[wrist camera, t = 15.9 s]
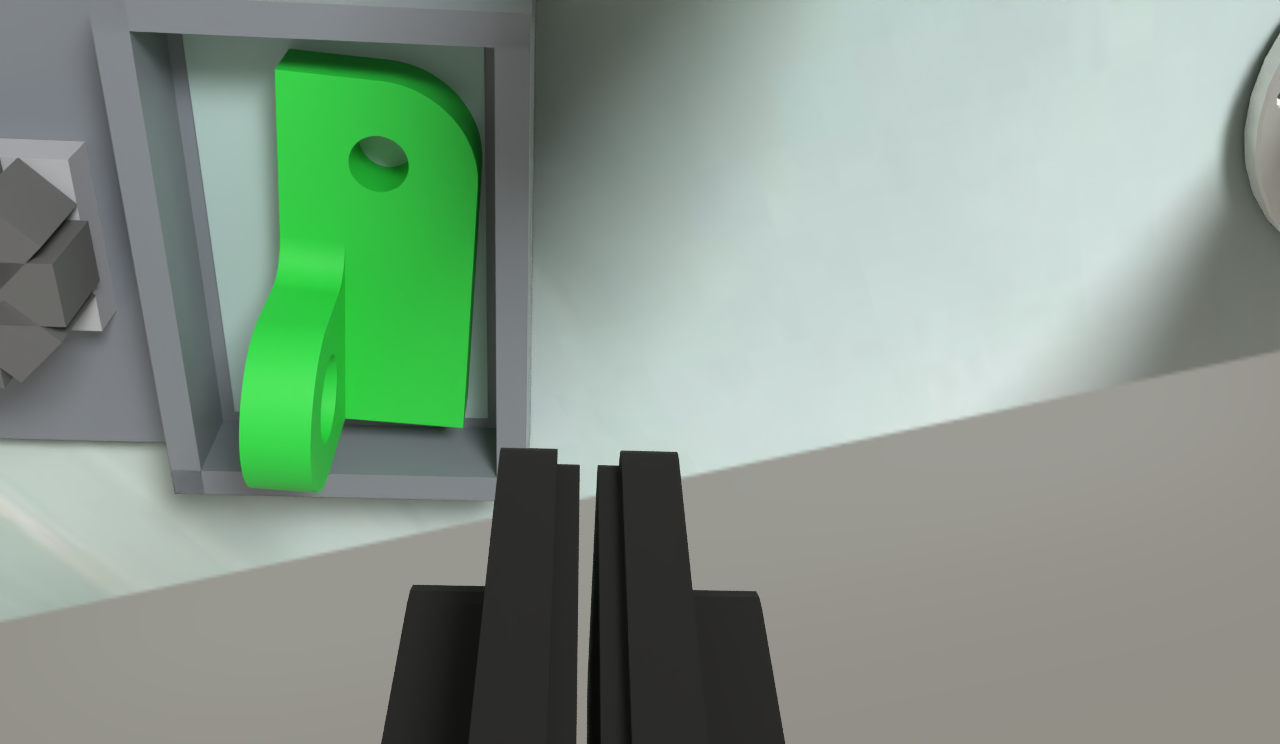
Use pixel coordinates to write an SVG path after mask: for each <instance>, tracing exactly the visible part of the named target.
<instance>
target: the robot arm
mask: <svg viewBox="0 0 1280 744" xmlns="http://www.w3.org/2000/svg"><path fill="white" fill-rule="evenodd" d="M1244 136H1245V165H1246V169H1247V173H1248V177H1249V181H1250V185H1251V189H1252V193H1253V195H1254V196H1255V198H1256V200H1257V202H1258V204H1259V206H1260V208H1261V209H1262V211H1263V213H1264V215H1265V217H1266V218H1267V219H1268V220H1269V222H1270V223H1271V224H1272V225H1273V226H1274V227H1275V228H1276V229H1277V230H1278V231H1279V232H1280V34H1279V35H1278V37H1277V39H1276V40H1275V42H1274V44H1273V46H1272V47H1271V49H1270V51H1269V53H1268V54H1267V56H1266V58H1265V60H1264V62H1263V65H1262V68H1261V70H1260V73H1259V75H1258V78H1257V81H1256V83H1255V86H1254V89H1253V91H1252V94H1251V98H1250V103H1249V108H1248V114H1247V119H1246V125H1245V130H1244ZM557 452H558V450H557V449H538V448H501V449H500V455H499V463H498V473H497V482H496V491H495V500H494V510H493V519H492V529H491V538H490V547H489V556H488V565H487V575H486V584H485V586H445V585H443V586H442V585H413V586H412V588H411V590H410V594H409V598H408V602H407V608H406V612H405V618H404V623H403V629H402V634H401V640H400V645H399V650H398V656H397V661H396V667H395V672H394V677H393V683H392V689H391V694H390V700H389V705H388V711H387V715H386V721H385V726H384V732H383V738H382V743H381V744H576V724H577V722H576V720H577V719H576V718H577V641H578V639H577V638H578V560H579V482H580V465H568V464H557ZM594 532H595V533H594V553H593V574H592V575H593V576H592V595H591V596H592V597H591V617H590V638H589V660H588V689H587V691H588V692H587V744H785V740H784V734H783V728H782V723H781V717H780V711H779V705H778V700H777V693H776V688H775V682H774V676H773V670H772V664H771V659H770V653H769V647H768V641H767V635H766V629H765V624H764V618H763V613H762V607H761V603H760V599H759V596H758V594H757V593H756V591H708V590H692V581H691V572H690V563H689V552H688V543H687V534H686V523H685V514H684V504H683V495H682V485H681V475H680V466H679V458H678V453H677V452H654V451H621V452H620V459H619V466H608V465H598V470H597V488H596V510H595V531H594Z"/></svg>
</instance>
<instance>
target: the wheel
mask: <svg viewBox="0 0 1280 744" xmlns="http://www.w3.org/2000/svg"><path fill="white" fill-rule="evenodd" d="M76 206H77V204H76V203H75V202H74V201H73V200H71V199H70V198H69V197H68V196H66V195H65V194H64V193H62V192H61V191H60V190H59V189H57V188H56V187H55V186H54V185H52V184H51V183H50V182H49V181H47V180H46V179H45V178H44V177H42V176H41V175H40V174H39V173H37V172H36V171H35V170H33V169H32V168H31V167H30V166H28V165H27V164H26V163H25V162H23V161H22V160H21V159H20V158H17V159H16V160H15V161H14V162H12V163H11V164H10V165H9V166H8V167H7V168H6V169H5V170H4V171H3V169H2V165H1V161H0V388H6V386H7V385H8V384H9V382H10V381H11V380H12V378H13V377H14V378H16V379H17V380H18V381H20V382H21V383H22V382H23V381H24V380H25V379H26V378H27V377H28V376H29V375H30V374H31V373H32V372H33V371H34V370H35V369H36V368H37V367H38V366H39V365H40V364H41V363H42V362H43V361H44V360H45V359H46V358H47V357H48V356H49V355H50V354H51V353H52V352H53V351H54V350H55V349H56V348H57V347H58V346H59V345H60V344H61V343H62V342H63V340H64V339H65V337H66V336H67V335H68V333H69V332H70V330H71V329H72V328H73V326H74V325H75V323H76V322H77V321H78V319H79V318H80V317H81V315H82V314H83V312H84V311H85V310H86V308H87V307H88V305H89V304H90V303H91V301H92V300H93V298H94V297H95V296H96V295H95V294H93V293H92V291H93V290H94V288H95V287H96V285H97V284H98V283H99V281H100V278H99V273H98V268H97V263H96V258H95V253H94V248H93V243H92V238H91V233H90V228H89V222H88V221H83V220H65V218H66V217H67V216H68V215H69V214H70V213H71V211H72V210H73V209H74V208H75V207H76Z"/></svg>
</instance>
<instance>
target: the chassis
mask: <svg viewBox="0 0 1280 744" xmlns="http://www.w3.org/2000/svg"><path fill="white" fill-rule="evenodd" d="M288 49H297V50H306V51H315V52H324V53H333V54H342V55H351V56H360V57H369V58H378V59H387V60H394V61H400V62H404V63H408V64H411V65H414V66H416V67H419V68H421V69H423V70H425V71H427V72H429V73H431V74H433V75H434V76H436V77H438V78H439V79H440V80H442V81H443V82H444V83H446V84H447V85H448V86H449V87H450V88H451V89H452V90H454V91H455V93H456V94H457V95H458V96H459V97H460V98H461V99H462V101H463V102H464V103H465V105H466V106H467V108H468V109H469V111H470V113H471V114H472V116H473V118H474V121H475V123H476V125H477V128H478V131H479V134H480V139H481V144H482V176H481V193H480V209H479V225H478V241H477V257H476V274H475V290H474V306H473V322H472V338H471V355H470V371H469V387H468V399H467V406H466V413H465V419H464V426H463V428H456V427H444V426H432V425H420V424H407V423H395V422H383V421H370V420H358V419H346V418H345V421H344V424H343V428H342V431H341V435H340V438H339V441H338V445H337V448H336V451H335V455H334V458H333V461H332V465H331V468H330V471H329V475H328V478H327V481H326V483H325V486H324V488H323V489H322V491H321V492H320V493H314V492H301V491H287V490H274V489H261V488H250V487H248V486H247V484H246V483H245V481H244V478H243V474H242V469H241V463H240V453H239V418H240V403H241V392H242V384H243V377H244V370H245V364H246V359H247V354H248V350H249V345H250V341H251V338H252V334H253V331H254V328H255V325H256V323H257V321H258V318H259V316H260V314H261V312H262V310H263V307H264V305H265V303H266V301H267V299H268V297H269V294H270V292H271V290H272V288H273V286H274V283H275V279H276V275H277V270H278V263H279V253H280V223H279V191H278V159H277V127H276V96H275V68H276V67H277V65H278V64H279V62H280V61H281V60H282V58H283V57H284V55H285V54H286V52H287V51H288ZM534 79H535V0H0V161H1V165H2V169H3V171H4V170H5V169H6V168H7V167H8V166H9V165H10V164H11V163H12V162H14V161H15V160H16V159H17V158H20V159H21V160H22V161H23V162H25V163H26V164H27V165H28V166H30V167H31V168H32V169H33V170H35V171H36V172H37V173H39V174H40V175H41V176H42V177H44V178H45V179H46V180H47V181H49V182H50V183H51V184H52V185H54V186H55V187H56V188H57V189H59V190H60V191H61V192H62V193H64V194H65V195H66V196H68V197H69V198H70V199H71V200H73V201H74V202H75V203H76V204H77V206H76V207H75V208H74V209H73V210H72V211H71V213H70V214H69V215H68V216H67V217H66V218H65V220H83V221H88V222H89V228H90V233H91V238H92V243H93V248H94V253H95V258H96V263H97V268H98V273H99V278H100V281H99V283H98V284H97V285H96V287H95V288H94V290H93V291H92V293H93V294H95V295H96V296H95V297H94V298H93V300H92V301H91V303H90V304H89V305H88V307H87V308H86V310H85V311H84V312H83V314H82V315H81V317H80V318H79V319H78V321H77V322H76V323H75V325H74V326H73V328H72V329H71V330H70V332H69V333H68V335H67V336H66V337H65V339H64V340H63V342H62V343H61V344H60V345H59V346H58V347H57V348H56V349H55V350H54V351H53V352H52V353H51V354H50V355H49V356H48V357H47V358H46V359H45V360H44V361H43V362H42V363H41V364H40V365H39V366H38V367H37V368H36V369H35V370H34V371H33V372H32V373H31V374H30V375H29V376H28V377H27V378H26V379H25V380H24V381H23V382H22V383H21V382H20V381H18V380H17V379H16V378H14V377H13V378H12V380H11V381H10V382H9V384H8V385H7V386H6V388H0V438H11V439H51V440H91V441H131V442H166V446H167V451H168V457H169V463H170V468H171V474H172V479H173V485H174V491H175V494H215V495H259V496H303V497H348V498H392V499H436V500H481V501H494V500H495V491H496V482H497V473H498V463H499V455H500V449H501V448H529V446H530V412H531V329H532V246H533V162H534ZM359 143H360V146H361V149H362V151H363V152H364V154H365V155H366V156H367V157H368V158H369V159H370V160H371V161H373V162H374V163H376V164H378V165H381V166H385V167H395V166H399V165H402V164H404V163H406V162H407V161H408V159H407V156H406V154H405V152H404V150H403V149H402V148H401V147H400V146H399V145H398V144H397V143H396V142H394V141H392V140H391V139H388V138H386V137H381V136H370V137H366V138H364V139H362V140H360V141H359Z"/></svg>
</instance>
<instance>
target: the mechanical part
mask: <svg viewBox="0 0 1280 744" xmlns="http://www.w3.org/2000/svg"><path fill="white" fill-rule="evenodd" d="M275 96H276V127H277V159H278V191H279V223H280V253H279V263H278V270H277V275H276V279H275V283H274V286H273V288H272V290H271V292H270V294H269V297H268V299H267V301H266V303H265V305H264V307H263V310H262V312H261V314H260V316H259V318H258V321H257V323H256V325H255V328H254V331H253V334H252V338H251V341H250V345H249V350H248V354H247V359H246V364H245V370H244V377H243V384H242V392H241V403H240V418H239V453H240V463H241V469H242V474H243V478H244V481H245V483H246V484H247V486H248V487H250V488H261V489H274V490H287V491H301V492H314V493H320V492H321V491H322V489H323V488H324V486H325V483H326V481H327V478H328V475H329V471H330V468H331V465H332V461H333V458H334V455H335V451H336V448H337V445H338V441H339V438H340V435H341V431H342V428H343V424H344V421H345V418H346V419H358V420H370V421H383V422H395V423H407V424H420V425H432V426H444V427H456V428H463V426H464V419H465V413H466V406H467V399H468V387H469V371H470V355H471V338H472V322H473V306H474V290H475V274H476V257H477V241H478V225H479V209H480V193H481V176H482V144H481V139H480V134H479V131H478V128H477V125H476V123H475V121H474V118H473V116H472V114H471V113H470V111H469V109H468V108H467V106H466V105H465V103H464V102H463V101H462V99H461V98H460V97H459V96H458V95H457V94H456V93H455V91H454V90H452V89H451V88H450V87H449V86H448V85H447V84H446V83H444V82H443V81H442V80H440V79H439V78H438V77H436V76H434V75H433V74H431V73H429V72H427V71H425V70H423V69H421V68H419V67H416V66H414V65H411V64H408V63H404V62H400V61H394V60H387V59H378V58H369V57H360V56H351V55H342V54H333V53H324V52H315V51H306V50H297V49H288V51H287V52H286V54H285V55H284V57H283V58H282V60H281V61H280V62H279V64H278V65H277V67H276V68H275ZM370 136H381V137H386V138H388V139H391V140H392V141H394V142H396V143H397V144H398V145H399V146H400V147H401V148H402V149H403V150H404V152H405V154H406V156H407V159H408V161H407V162H406V163H404V164H402V165H399V166H395V167H385V166H381V165H378V164H376V163H374V162H373V161H371V160H370V159H369V158H368V157H367V156H366V155H365V154H364V152H363V151H362V149H361V146H360V143H359V141H360V140H362V139H364V138H366V137H370Z"/></svg>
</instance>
